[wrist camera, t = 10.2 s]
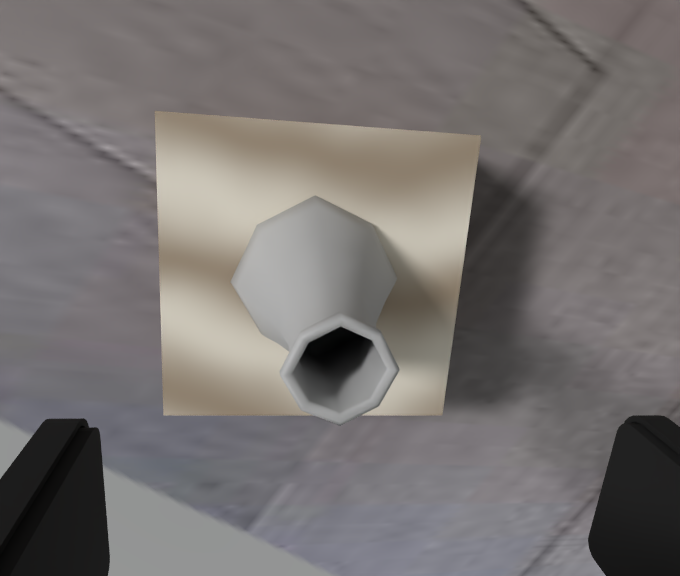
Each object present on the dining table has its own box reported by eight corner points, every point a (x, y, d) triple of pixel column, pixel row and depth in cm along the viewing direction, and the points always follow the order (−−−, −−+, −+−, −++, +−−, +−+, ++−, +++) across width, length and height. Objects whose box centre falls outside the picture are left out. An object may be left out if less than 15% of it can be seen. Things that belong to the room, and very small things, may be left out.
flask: (422, 275, 25) (515, 365, 15) (315, 378, 25) (339, 524, 16) (314, 164, 23) (342, 187, 13) (202, 280, 23) (151, 381, 14)
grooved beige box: (183, 116, 28) (154, 111, 21) (435, 135, 30) (481, 135, 23) (187, 356, 32) (163, 415, 25) (409, 359, 34) (442, 415, 27)
